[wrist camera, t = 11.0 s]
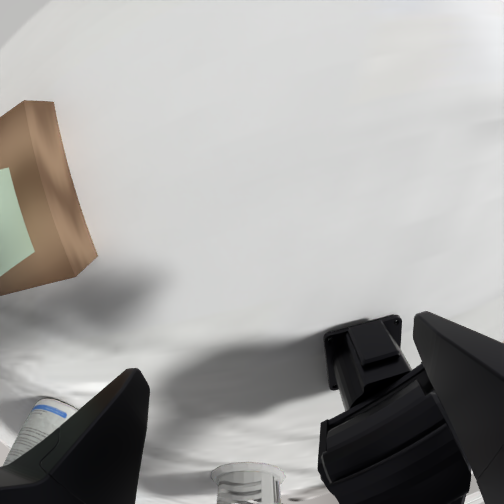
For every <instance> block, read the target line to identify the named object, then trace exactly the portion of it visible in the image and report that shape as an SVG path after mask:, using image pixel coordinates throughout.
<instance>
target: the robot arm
mask: <svg viewBox="0 0 504 504" xmlns="http://www.w3.org/2000/svg"><path fill="white" fill-rule="evenodd" d="M396 320H397V321H396ZM395 321H396V322H395ZM394 322H395V323H394ZM401 329H402V319H401V318H400V317H399V315H393V316H390V317H386V318H383V319H379V320H376V321H372V322H368V323H364V324H361V325H357V326H353V327H349V328H345V329H341V330H336V331H332V332H328V333H326V334H325V335H324V338H323V339H324V347H325V355H326V363H327V372H328V381H329V387H330V389H331V390H338V389H339V391H340V395H341V398H342V401H343V405H344V408H345V412H343V413H341V414H339V415H338V416H336V417H334V418H332V419H330V420H328V419H327V420H325V421H323V422H321V427H320V442H319V454H318V472H319V473H320V475H321V480H322V481H323V482H324V484H325V485H326V487H327V489H328V490H329V491H330V492H331V493H332V494H333V495H334V496H335V497H336V498H337V500H338V502H339V504H464V501H465V497H466V494H467V493H468V492H469V489H470V481H471V468H472V471H473V473H474V476H475V478H476V480H477V484H478V486H479V489H480V492H481V494H482V497H483V500H484V502H485V504H504V343H501V342H499V341H497V340H494V339H492V338H490V337H487V336H485V335H483V334H480V333H478V332H476V331H473V330H471V329H469V328H466V327H464V326H461V325H459V324H457V323H454V322H452V321H450V320H447V319H445V318H442V317H440V316H438V315H435V314H433V313H431V312H428V311H424V312H421V313H418V314H416V315H415V317H414V327H413V340H414V343H415V345H416V347H417V350H418V352H419V355H420V357H421V360H422V362H421V364H420V365H419V366H417V367H416V368H414V369H413V370H412V369H411V367H410V365H409V363H408V362H407V360H406V358H405V356H404V355H403V353H402V351H401V349H400V345H401ZM329 338H332V339H330V340H328V339H329ZM149 396H150V388H149V385H148V383H147V381H146V380H145V378H144V376H143V374H142V373H141V371H140V370H139V369H138V368H129V369H126V370H125V371H124V372H122V373H121V374H120V375H119V376H118V377H117V378H115V379H114V380H113V381H112V382H111V383H110V384H108V385H107V386H106V387H105V388H104V389H103V390H101V391H100V392H99V393H98V394H97V395H96V396H94V397H93V398H92V399H91V400H90V401H89V402H87V403H86V404H85V405H84V406H83V407H82V408H80V409H79V410H78V411H77V412H76V413H75V414H73V415H72V416H71V417H70V418H69V419H67V420H66V421H65V422H64V423H63V424H62V425H60V427H58V428H57V429H56V430H54V431H53V432H52V433H51V434H50V435H48V436H47V437H46V438H45V439H44V440H42V441H41V442H40V443H38V444H37V445H35V446H34V447H33V448H31V449H30V450H29V451H27V452H26V453H24V454H23V455H21V456H20V457H19V458H17V459H16V460H14V461H13V462H11V463H10V464H8V465H5V466H2V467H0V504H135V499H136V492H137V485H138V479H139V472H140V466H141V460H142V454H143V448H144V442H145V437H146V431H147V422H148V408H149Z"/></svg>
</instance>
